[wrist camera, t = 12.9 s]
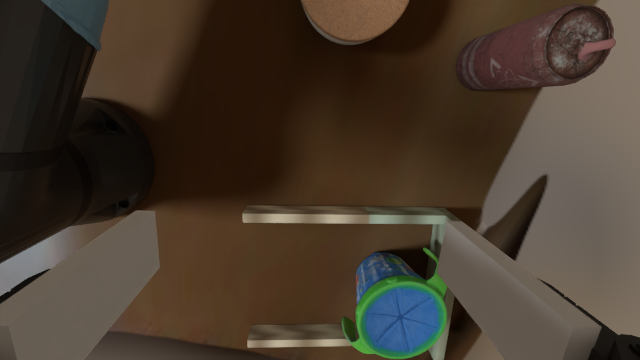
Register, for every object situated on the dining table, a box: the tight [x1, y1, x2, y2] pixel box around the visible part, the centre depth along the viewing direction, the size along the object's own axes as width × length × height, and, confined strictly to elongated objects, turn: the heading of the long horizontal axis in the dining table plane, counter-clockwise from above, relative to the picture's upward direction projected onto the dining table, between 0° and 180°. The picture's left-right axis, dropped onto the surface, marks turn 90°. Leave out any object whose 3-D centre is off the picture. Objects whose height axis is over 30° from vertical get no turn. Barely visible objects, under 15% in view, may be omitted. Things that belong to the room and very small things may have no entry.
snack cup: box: [342, 247, 447, 359], centre depth 38 cm, size 16×10×10 cm
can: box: [456, 3, 616, 91], centre depth 30 cm, size 6×6×14 cm
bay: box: [242, 205, 461, 360], centre depth 40 cm, size 27×20×6 cm
